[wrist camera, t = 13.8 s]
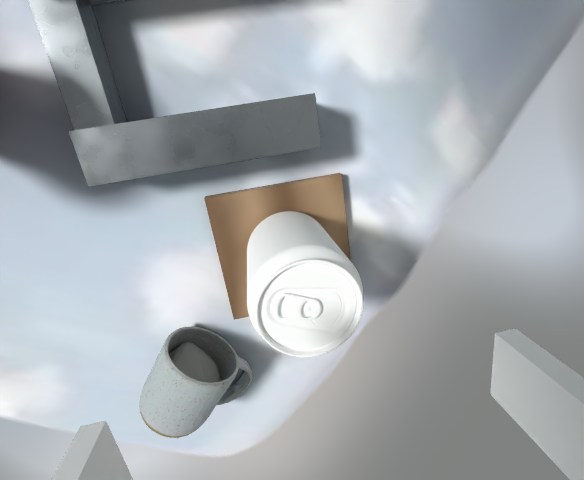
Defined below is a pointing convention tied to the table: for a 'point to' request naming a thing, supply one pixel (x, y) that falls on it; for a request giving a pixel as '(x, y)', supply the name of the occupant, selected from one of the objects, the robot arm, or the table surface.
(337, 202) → the pad
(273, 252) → the beverage can
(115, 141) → the c-clamp
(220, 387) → the ceramic mug
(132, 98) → the table surface
